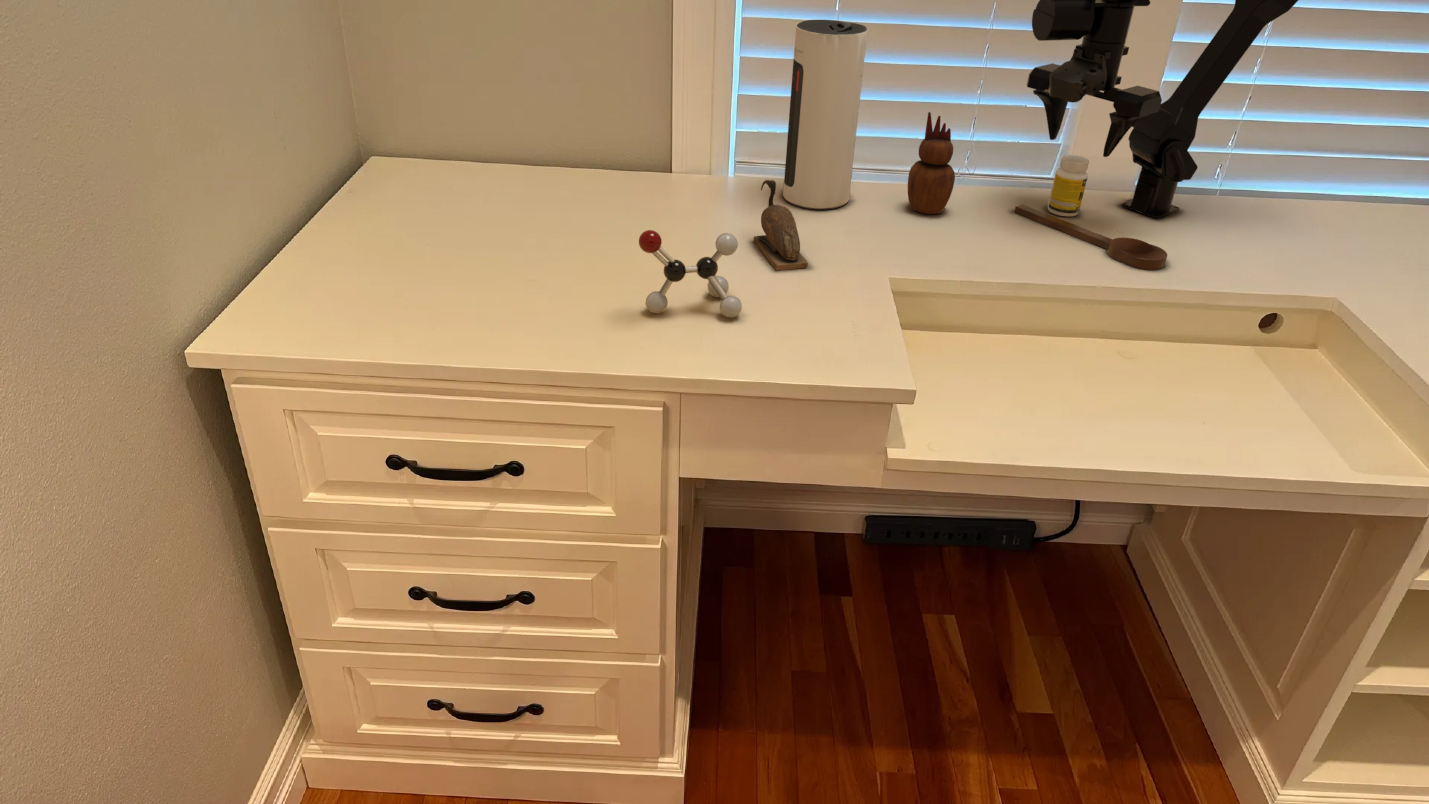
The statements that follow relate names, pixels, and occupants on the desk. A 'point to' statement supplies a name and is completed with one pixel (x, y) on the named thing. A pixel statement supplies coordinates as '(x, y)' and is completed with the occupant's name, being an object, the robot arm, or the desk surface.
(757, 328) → the desk surface
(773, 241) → the figurine
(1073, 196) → the supplement bottle
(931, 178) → the wooden figurine
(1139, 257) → the wooden spoon
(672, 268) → the molecular model
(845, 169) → the speaker
